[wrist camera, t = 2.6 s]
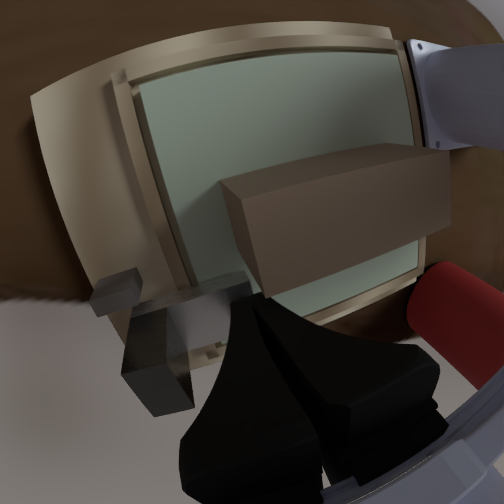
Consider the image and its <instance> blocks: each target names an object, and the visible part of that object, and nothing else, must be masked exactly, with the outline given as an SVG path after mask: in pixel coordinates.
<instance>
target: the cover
mask: <svg viewBox="0 0 504 504" xmlns="http://www.w3.org/2000/svg"><path fill="white" fill-rule="evenodd" d="M139 88H140V93H141V97H142V101H143V105H144V109H145V113H146V117H147V121H148V125H149V128H150V132H151V136H152V139H153V143H154V147H155V150H156V154H157V157H158V161H159V164H160V168H161V171H162V175H163V178H164V181H165V185H166V188H167V191H168V194H169V198H170V201H171V204H172V207H173V210H174V213H175V216H176V220H177V223H178V226H179V229H180V232H181V235H182V238H183V241H184V244H185V246H186V249H187V252H188V255H189V258H190V261H191V264H192V267H193V269H194V272H195V275H196V278H197V280H198V283H199V284H202V283H205V282H208V281H211V280H214V279H217V278H220V277H223V276H227V275H230V274H233V273H236V272H239V271H242V270H245V272H246V274H247V276H248V278H249V280H250V282H251V286H252V290H253V293H254V294H255V293H258V292H261V291H262V293H263V295H264V296H265V298H269V297H271V298H273V299H274V300H275V301H277V302H278V303H280V304H281V305H283V306H284V307H286V308H287V309H289V310H291V311H292V312H294V313H296V314H297V315H299V316H301V317H302V316H305V315H307V314H310V313H313V312H315V311H318V310H320V309H323V308H325V307H328V306H330V305H333V304H335V303H338V302H340V301H342V300H345V299H347V298H349V297H352V296H354V295H356V294H359V293H361V292H363V291H366V290H368V289H370V288H373V287H375V286H377V285H379V284H381V283H384V282H386V281H388V280H390V279H392V278H394V277H397V276H399V275H401V274H403V273H405V272H407V271H409V270H411V269H413V268H415V267H417V262H418V240H419V239H421V238H423V237H426V236H428V235H430V234H432V233H435V232H437V231H439V230H441V229H444V228H446V227H448V226H450V225H451V166H450V151H446V150H440V149H433V148H426V147H419V146H414V141H413V133H412V126H411V119H410V113H409V107H408V101H407V96H406V91H405V86H404V81H403V77H402V72H401V68H400V64H399V60H398V56H397V55H390V54H377V53H356V52H322V53H300V54H287V55H276V56H267V57H259V58H252V59H245V60H239V61H233V62H227V63H222V64H217V65H212V66H207V67H203V68H198V69H194V70H190V71H186V72H182V73H178V74H174V75H171V76H167V77H164V78H160V79H157V80H154V81H151V82H147V83H144V84H141V85H139ZM227 341H228V339H226V340H223V341H221V343H222V344H225V343H227Z"/></svg>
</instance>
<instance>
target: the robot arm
mask: <svg viewBox="0 0 504 504" xmlns="http://www.w3.org/2000/svg"><path fill="white" fill-rule="evenodd" d="M407 48H408V52H409V56H410V59H411V63H412V67H413V72H414V76H415V81H416V85H417V90H418V96H419V101H420V107H421V113H422V120H423V127H424V134H425V143H426V148H433V149H440V150H451V149H457V148H463V147H470V146H480V147H485V148H491V149H496V150H500V151H504V44H487V45H475V46H465V47H457V48H449V47H446V46H442V45H438V44H433V43H429V42H424V41H420V40H415V39H411V40H408V41H407ZM230 311H231V317H230V329H229V336H228V341H227V346H226V351H225V355H224V358H223V362H222V365H221V368H220V371H219V374H218V376H217V379H216V381H215V384H214V386H213V388H212V390H211V393H210V395H209V396H208V398H207V400H206V402H205V404H204V406H203V407H202V409H201V411H200V413H199V414H198V416H197V418H196V419H195V421H194V422H193V424H192V425H191V426H190V428H189V429H188V430H187V432H186V433H185V435H184V436H183V437H182V439H181V440H180V449H179V472H180V478H181V484H182V490H183V491H184V492H185V493H186V494H187V495H188V496H190V497H192V498H193V499H195V500H196V501H198V502H200V503H201V504H348V503H349V504H504V478H503V477H502V475H501V474H500V473H499V472H498V471H497V469H496V468H495V467H494V466H493V463H494V462H495V461H496V460H497V459H498V458H499V457H500V456H501V455H502V454H503V453H504V365H503V366H502V367H501V368H500V370H499V371H498V372H497V373H496V374H495V375H494V376H493V377H492V378H491V379H490V380H489V381H488V382H487V383H486V384H485V385H484V386H483V387H481V388H480V389H479V390H478V391H477V392H476V393H475V394H474V395H473V396H472V397H471V398H469V399H468V400H467V401H466V402H465V403H464V404H462V405H461V406H460V407H459V408H458V409H457V410H455V411H454V412H453V413H452V414H450V415H449V416H448V417H447V418H445V419H444V418H443V417H442V416H441V414H439V412H438V411H437V410H436V409H437V408H438V404H437V403H436V401H435V400H434V399H433V398H432V395H433V393H434V390H435V388H436V385H437V382H438V379H439V375H440V366H439V364H438V363H437V362H436V361H435V360H434V359H433V358H432V357H431V356H430V355H429V354H428V353H426V352H425V351H424V350H423V349H422V348H420V347H419V346H418V345H415V344H396V343H384V342H378V341H371V340H366V339H361V338H356V337H352V336H349V335H345V334H341V333H338V332H335V331H332V330H329V329H327V328H324V327H322V326H319V325H317V324H315V323H313V322H311V321H309V320H307V319H305V318H303V317H301V316H299V315H297V314H296V313H294V312H292V311H291V310H289V309H287V308H286V307H284V306H283V305H281V304H280V303H278V302H277V301H275V300H274V299H273V298H271V297H269V298H265V296H264V295H263V293H262V291H261V292H258V293H255V294H252V295H249V296H246V297H243V298H240V299H237V300H234V301H232V302H231V303H230ZM430 455H431V456H430ZM429 456H430V457H429ZM426 458H427V459H426ZM425 459H426V460H425ZM423 460H424V461H423ZM422 461H423V462H422ZM420 462H421V463H420ZM419 463H420V464H419ZM417 464H418V465H417ZM416 465H417V466H416ZM322 466H323V468H324V471H325V473H326V475H327V477H328V480H329V482H330V484H331V486H330V487H327V488H325V489H323V482H322V473H323V470H322ZM414 466H415V467H414ZM413 467H414V468H413ZM411 468H412V469H411ZM410 469H411V470H410ZM408 470H409V471H408ZM407 471H408V472H407ZM405 472H406V473H405ZM403 473H405V474H403ZM402 474H403V475H402ZM400 475H401V476H400ZM399 476H400V477H399ZM397 477H398V478H397ZM395 478H396V479H395ZM394 479H395V480H394ZM392 480H393V481H392ZM390 481H391V482H390ZM389 482H390V483H389ZM387 483H388V484H387ZM385 484H386V485H385ZM383 485H384V486H383ZM382 486H383V487H382ZM380 487H381V488H380ZM378 488H379V489H378ZM376 489H377V490H376ZM374 490H375V491H374ZM372 491H374V492H372ZM370 492H372V493H370ZM368 493H370V494H368ZM366 494H368V495H366ZM364 495H366V496H364ZM362 496H364V497H362ZM360 497H362V498H360ZM358 498H360V499H358ZM356 499H358V500H356ZM354 500H356V501H354ZM352 501H354V502H352ZM350 502H351V503H350Z"/></svg>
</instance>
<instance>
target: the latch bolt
mask: <svg viewBox="0 0 504 504" xmlns="http://www.w3.org/2000/svg"><path fill="white" fill-rule="evenodd" d="M252 294H254V293H253V290H252V286H251V282H250V280H249V278H248V276H247V274H246V272H245V270H242V271H239V272H236V273H233V274H230V275H227V276H223V277H220V278H217V279H214V280H211V281H208V282H205V283H202V284H199V285H195V286H192V287H189V288H186V289H183V290H180V291H177V292H173V293H170V294H167V295H164V296H161V297H157V298H154V299H151V300H148V301H145V302H141V303H139V305H137V306H133V307H132V312H131V317H130V322H129V328H128V333H127V339H126V344H125V350H124V357H123V363H122V370H121V376H122V377H123V378H124V380H125V381H126V382H127V384H128V385H129V386H130V388H131V389H132V390H133V392H134V393H135V394H136V396H138V398H139V399H140V400H141V402H142V403H143V404H144V406H145V407H146V408H147V409H148V410H149V412H150V413H151V414H152V415H153V416H154V417H158V416H162V415H167V414H171V413H176V412H180V411H184V410H189V409H192V408H195V404H194V397H193V390H192V382H191V375H190V366H189V357H188V351H190V350H193V349H197V348H200V347H203V346H207V345H210V344H213V343H216V342H220V341H223V340H226V339H228V336H229V329H230V317H231V311H230V303H231V302H232V301H234V300H237V299H240V298H243V297H246V296H249V295H252Z"/></svg>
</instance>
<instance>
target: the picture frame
mask: <svg viewBox="0 0 504 504" xmlns="http://www.w3.org/2000/svg"><path fill="white" fill-rule="evenodd" d="M322 52H356V53H377V54H390V55H397V56H398V60H399V64H400V68H401V72H402V77H403V81H404V86H405V91H406V96H407V101H408V107H409V113H410V119H411V126H412V133H413V141H414V146H419V147H422V138H421V130H420V123H419V116H418V110H417V104H416V98H415V93H414V88H413V83H412V78H411V74H410V70H409V65H408V61H407V58H406V54H405V50H404V46H403V43H402V41H399V40H393V39H392V35H391V32H390V29H389V28H388V27H381V26H373V25H365V24H355V23H343V22H321V21H292V22H271V23H258V24H248V25H239V26H232V27H225V28H218V29H212V30H207V31H202V32H197V33H192V34H187V35H183V36H179V37H174V38H171V39H167V40H163V41H159V42H156V43H152V44H149V45H146V46H142V47H139V48H136V49H133V50H130V51H127V52H124V53H121V54H119V55H116V56H113V57H111V58H108V59H106V60H103V61H101V62H98V63H96V64H93V65H91V66H89V67H86V68H84V69H82V70H80V71H78V72H75V73H73V74H71V75H69V76H67V77H65V78H63V79H61V80H59V81H57V82H55V83H53V84H51V85H50V86H48V87H46V88H44V89H42V90H40V91H39V92H37V93H35V94H34V95H32V96H30V97H31V103H32V109H33V114H34V119H35V124H36V129H37V134H38V138H39V142H40V146H41V150H42V154H43V158H44V162H45V165H46V169H47V172H48V176H49V179H50V182H51V185H52V188H53V192H54V195H55V198H56V201H57V203H58V206H59V209H60V212H61V215H62V217H63V220H64V223H65V225H66V228H67V230H68V233H69V235H70V238H71V240H72V243H73V245H74V247H75V250H76V252H77V254H78V257H79V259H80V261H81V263H82V266H83V268H84V270H85V272H86V274H87V276H88V278H89V281H90V283H91V285H92V287H93V289H94V291H93V293H92V296H91V298H90V300H89V303H90V305H91V307H92V308H93V310H94V312H95V314H96V316H97V317H100V316H104V315H108V317H109V319H110V321H111V322H112V324H113V326H114V328H115V329H116V331H117V333H118V335H119V336H120V338H121V340H122V341H123V343H124V345H125V344H126V339H127V333H128V328H129V322H130V317H131V312H132V307H133V306H137V305H139V303H141V302H145V301H148V300H151V299H154V298H157V297H161V296H164V295H167V294H170V293H173V292H177V291H180V290H183V289H186V288H189V287H192V286H195V285H199V283H198V280H197V278H196V275H195V272H194V269H193V267H192V264H191V261H190V258H189V255H188V252H187V249H186V246H185V244H184V241H183V238H182V235H181V232H180V229H179V226H178V223H177V220H176V216H175V213H174V210H173V207H172V204H171V201H170V198H169V194H168V191H167V188H166V185H165V181H164V178H163V175H162V171H161V168H160V164H159V161H158V157H157V154H156V150H155V147H154V143H153V139H152V136H151V132H150V128H149V125H148V121H147V117H146V113H145V109H144V105H143V101H142V97H141V93H140V88H139V85H141V84H144V83H147V82H151V81H154V80H157V79H160V78H164V77H167V76H171V75H174V74H178V73H182V72H186V71H190V70H194V69H198V68H203V67H207V66H212V65H217V64H222V63H227V62H233V61H239V60H245V59H252V58H259V57H267V56H276V55H287V54H300V53H322ZM425 247H426V237H423V238H421V239H419V240H418V262H417V267H415V268H413V269H411V270H409V271H407V272H405V273H403V274H401V275H399V276H397V277H394V278H392V279H390V280H388V281H386V282H384V283H381V284H379V285H377V286H375V287H373V288H370V289H368V290H366V291H363V292H361V293H359V294H356V295H354V296H352V297H349V298H347V299H345V300H342V301H340V302H338V303H335V304H333V305H330V306H328V307H325V308H323V309H320V310H318V311H315V312H313V313H310V314H307V315H305V316H302V317H303V318H305V319H307V320H309V321H311V322H313V323H315V324H317V325H319V326H321V325H323V324H325V323H328V322H330V321H333V320H335V319H337V318H340V317H342V316H344V315H347V314H349V313H351V312H353V311H356V310H358V309H360V308H362V307H365V306H367V305H369V304H371V303H373V302H375V301H378V300H380V299H382V298H384V297H386V296H388V295H390V294H392V293H394V292H396V291H398V290H400V289H402V288H404V287H406V286H408V285H410V284H412V283H414V282H416V277H417V276H419V275H421V274H423V273H424V264H425ZM226 346H227V343H225V344H222V343H221V341H220V342H216V343H213V344H210V345H207V346H203V347H200V348H197V349H193V350H190V351H188V357H189V366H190V370H192V369H196V368H200V367H203V366H206V365H210V364H213V363H216V362H220V361H223V358H224V355H225V351H226Z"/></svg>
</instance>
